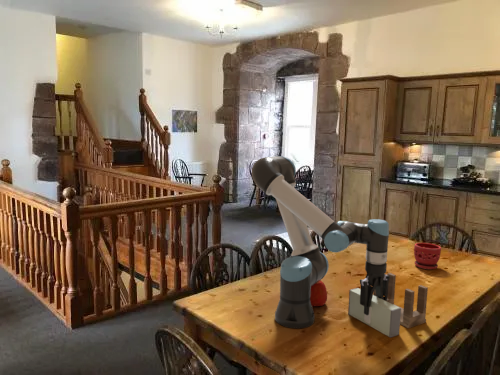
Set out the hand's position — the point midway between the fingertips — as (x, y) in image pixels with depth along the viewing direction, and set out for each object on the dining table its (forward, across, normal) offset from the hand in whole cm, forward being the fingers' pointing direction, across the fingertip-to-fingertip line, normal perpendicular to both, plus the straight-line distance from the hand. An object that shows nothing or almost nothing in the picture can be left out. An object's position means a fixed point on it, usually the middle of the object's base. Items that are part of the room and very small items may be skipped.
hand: (372, 320), depth 154 cm
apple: (+1, -8, +25) cm, 26 cm away
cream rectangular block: (+1, 0, 0) cm, 1 cm away
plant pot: (+1, +75, +33) cm, 82 cm away
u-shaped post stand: (+1, +14, 0) cm, 14 cm away
